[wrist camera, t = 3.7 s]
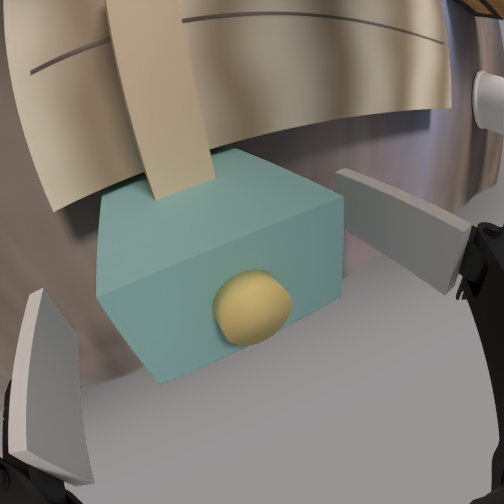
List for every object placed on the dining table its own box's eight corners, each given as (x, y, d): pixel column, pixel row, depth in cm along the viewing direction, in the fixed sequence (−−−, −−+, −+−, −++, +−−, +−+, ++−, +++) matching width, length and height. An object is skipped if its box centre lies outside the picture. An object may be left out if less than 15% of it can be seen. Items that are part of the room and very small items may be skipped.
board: (61, 195, 13) (53, 212, 11) (16, 7, 6) (3, -7, 4) (431, 103, 21) (451, 108, 19) (419, -3, 14) (440, -3, 12)
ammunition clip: (444, -7, 15) (533, 4, 6) (441, -19, 14) (529, -10, 5) (474, 16, 18) (544, 31, 9) (472, 5, 17) (542, 19, 8)
